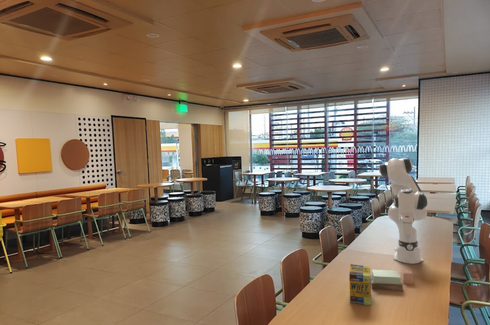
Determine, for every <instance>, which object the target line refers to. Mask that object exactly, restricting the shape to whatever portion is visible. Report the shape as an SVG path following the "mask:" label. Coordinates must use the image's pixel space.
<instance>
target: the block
mask: <svg viewBox="0 0 490 325" xmlns="http://www.w3.org/2000/svg"><path fill="white" fill-rule="evenodd" d="M413 276H414V275H413V272H412V271H411V270H406V269H402V270H401V282H402V284H409V285H410V284H412V285H413V284H414V281H413V280H414V279H413V278H414V277H413Z"/></svg>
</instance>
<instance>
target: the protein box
mask: <svg viewBox="0 0 490 325" xmlns="http://www.w3.org/2000/svg"><path fill="white" fill-rule="evenodd" d="M348 274H349V278H348V279H349V302H350V303H351V304H358V305H359V304H360V305H366V306H372V290H371V289H372V287H371V280H370V275H371V266H370V265H361V264H352V263H351V264H350V266H349V273H348Z"/></svg>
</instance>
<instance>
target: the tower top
mask: <svg viewBox="0 0 490 325" xmlns="http://www.w3.org/2000/svg"><path fill="white" fill-rule="evenodd" d="M371 275H372V278H373V281H374V283H383V284H401V283H402V276H401V275H400V274H399V272H398V270H389V269H371Z"/></svg>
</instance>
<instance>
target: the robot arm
mask: <svg viewBox="0 0 490 325" xmlns="http://www.w3.org/2000/svg"><path fill="white" fill-rule="evenodd" d="M412 170H413V162H412V161H411V160H410V158H408V157H404V158H397V157H396V158H395V157H394V158H391V159H388V161H386V162H383V163H381V164H379V168H378V171H379V173H380V174H379V175H381V177H383V178H388V179H389V181H390V182H391V186H392V193H393V205H392V206H391V207H389V208H388V211H387V216H388V217H389V219H390V220H391V221H392V222H394V223H395V225H396V226H397V228H398V234H399V235H398V246H397V247H395V248H394V251H395V252H394V254H393V260H394V261H398V262H401V263H404V264H410V265H411V264H413V265H414V264H419V263H421V262H422V263H423V262H424V259H423V258H422V255H421V249H420V248H419V242H418V232H417V229H416V228H415V227H413V225H414V224H413V223H414V222H415V221H417V222H418V221H423V220H425V219H426V218H427V216H428V210H427V208H426V207H427V206H428V199H427V196H426V195H425V193H424V192H423V191H422V190H421V188H420V185H419V184H418V183H417V181H416V179H415V178H414V177H413V175H410V173H411V172H412Z"/></svg>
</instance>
